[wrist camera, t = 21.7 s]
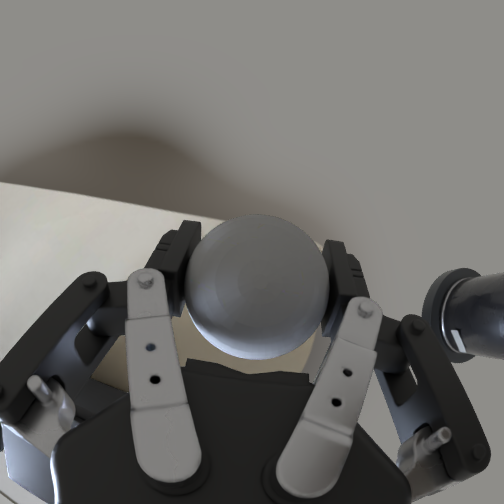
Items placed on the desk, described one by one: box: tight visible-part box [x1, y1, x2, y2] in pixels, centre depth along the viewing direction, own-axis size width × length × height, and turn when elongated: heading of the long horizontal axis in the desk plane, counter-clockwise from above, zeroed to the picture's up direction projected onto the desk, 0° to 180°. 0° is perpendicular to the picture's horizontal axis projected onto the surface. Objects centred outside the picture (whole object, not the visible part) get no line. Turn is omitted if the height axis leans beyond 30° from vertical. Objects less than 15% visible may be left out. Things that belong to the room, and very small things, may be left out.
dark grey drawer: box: [73, 378, 127, 421], centre depth 24 cm, size 15×11×8 cm
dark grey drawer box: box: [2, 416, 84, 504], centre depth 24 cm, size 15×13×10 cm
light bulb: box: [184, 214, 330, 360], centre depth 14 cm, size 6×6×10 cm
